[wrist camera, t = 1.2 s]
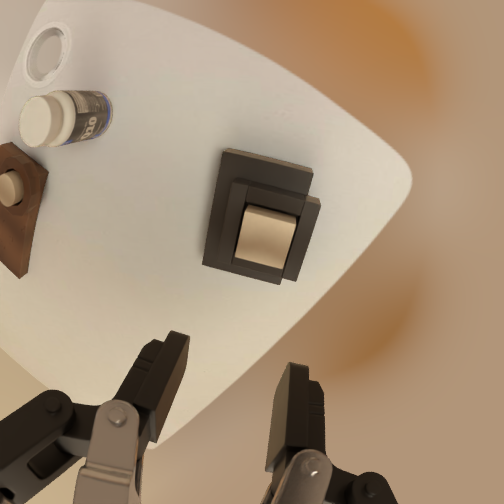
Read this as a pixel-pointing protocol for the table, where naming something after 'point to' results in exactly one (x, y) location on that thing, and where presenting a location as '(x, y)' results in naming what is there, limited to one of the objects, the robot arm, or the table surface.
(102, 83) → the table surface
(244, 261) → the key box
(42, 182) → the brown flat piece
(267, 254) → the near key
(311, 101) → the table surface
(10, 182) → the far key
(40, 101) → the pill bottle
